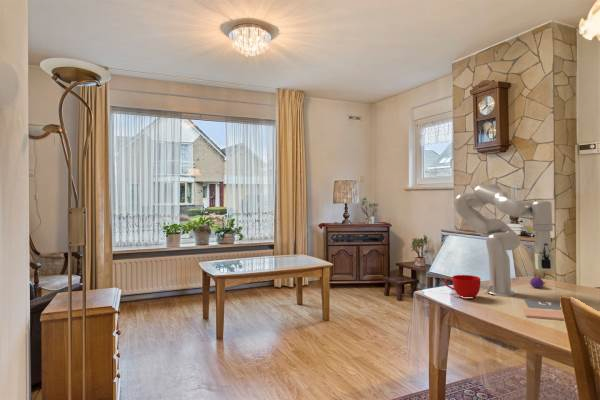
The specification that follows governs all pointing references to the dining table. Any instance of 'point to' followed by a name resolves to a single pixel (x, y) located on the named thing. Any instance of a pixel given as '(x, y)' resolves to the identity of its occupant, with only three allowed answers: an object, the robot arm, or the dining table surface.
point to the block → (539, 262)
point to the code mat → (543, 304)
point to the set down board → (543, 314)
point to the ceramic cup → (465, 285)
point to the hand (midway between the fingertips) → (544, 266)
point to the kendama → (536, 282)
